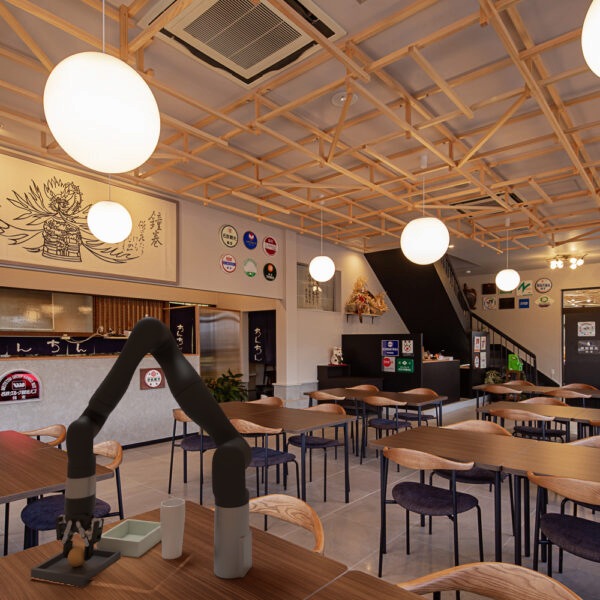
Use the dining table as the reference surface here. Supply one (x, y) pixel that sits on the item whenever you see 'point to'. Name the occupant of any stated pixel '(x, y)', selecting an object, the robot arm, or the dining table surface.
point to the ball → (76, 556)
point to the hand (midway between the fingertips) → (77, 557)
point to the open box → (131, 537)
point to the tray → (74, 568)
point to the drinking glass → (172, 527)
